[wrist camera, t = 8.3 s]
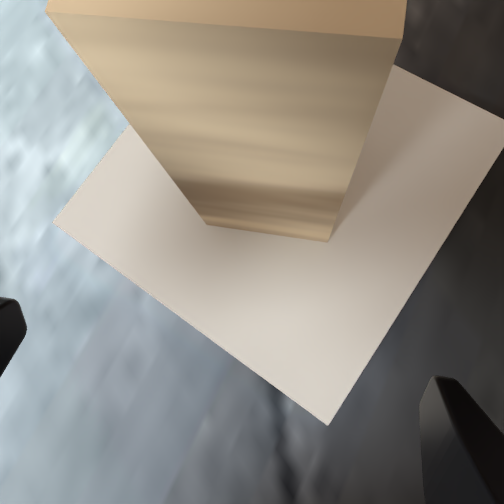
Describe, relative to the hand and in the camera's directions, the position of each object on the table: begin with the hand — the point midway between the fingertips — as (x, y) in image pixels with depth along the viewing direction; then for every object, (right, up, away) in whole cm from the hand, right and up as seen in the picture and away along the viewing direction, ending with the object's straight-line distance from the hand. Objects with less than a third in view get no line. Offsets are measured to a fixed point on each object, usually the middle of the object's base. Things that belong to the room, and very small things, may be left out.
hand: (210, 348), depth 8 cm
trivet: (+2, +5, +9) cm, 10 cm away
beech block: (+2, +5, +8) cm, 10 cm away
